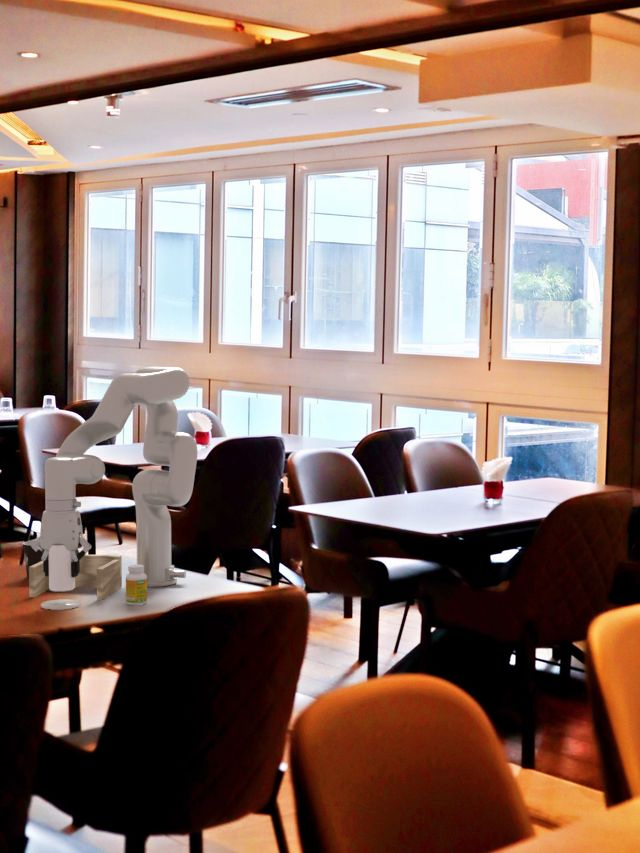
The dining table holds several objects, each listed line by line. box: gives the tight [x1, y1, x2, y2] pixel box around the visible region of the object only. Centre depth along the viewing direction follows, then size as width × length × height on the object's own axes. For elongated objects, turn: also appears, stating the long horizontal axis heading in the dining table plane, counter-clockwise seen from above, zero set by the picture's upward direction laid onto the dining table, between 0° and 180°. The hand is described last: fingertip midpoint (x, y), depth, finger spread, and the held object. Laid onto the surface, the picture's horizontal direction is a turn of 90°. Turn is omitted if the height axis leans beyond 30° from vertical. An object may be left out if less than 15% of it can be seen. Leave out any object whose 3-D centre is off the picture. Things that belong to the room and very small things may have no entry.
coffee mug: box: [22, 540, 44, 580], centre depth 346 cm, size 12×9×10 cm
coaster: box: [40, 598, 82, 611], centre depth 308 cm, size 10×10×1 cm
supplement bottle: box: [125, 564, 148, 606], centre depth 311 cm, size 5×5×10 cm
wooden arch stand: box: [28, 554, 123, 600], centre depth 324 cm, size 20×16×9 cm
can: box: [49, 544, 76, 593], centre depth 308 cm, size 6×6×12 cm
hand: (61, 575), depth 308 cm, fingers closed on can, 6 cm apart
